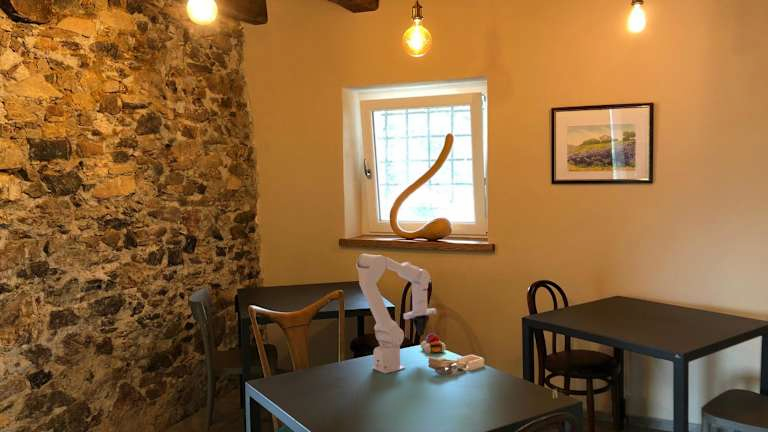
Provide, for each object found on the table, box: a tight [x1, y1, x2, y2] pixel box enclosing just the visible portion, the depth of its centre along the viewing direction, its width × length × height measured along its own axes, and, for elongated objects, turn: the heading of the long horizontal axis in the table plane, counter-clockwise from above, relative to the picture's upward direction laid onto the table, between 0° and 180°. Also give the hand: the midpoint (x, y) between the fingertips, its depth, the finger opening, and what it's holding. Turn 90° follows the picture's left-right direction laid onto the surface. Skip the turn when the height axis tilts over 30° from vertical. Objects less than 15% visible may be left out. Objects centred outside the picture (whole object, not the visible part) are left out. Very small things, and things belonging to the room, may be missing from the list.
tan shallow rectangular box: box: [456, 354, 485, 372], centre depth 227 cm, size 9×6×3 cm
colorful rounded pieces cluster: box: [420, 332, 447, 355], centre depth 248 cm, size 8×10×7 cm
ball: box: [469, 355, 477, 362], centre depth 229 cm, size 3×3×3 cm
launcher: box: [427, 357, 467, 371], centre depth 224 cm, size 14×12×3 cm
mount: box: [434, 363, 462, 378], centre depth 221 cm, size 5×9×4 cm, turn 35°
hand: (420, 334), depth 238 cm, fingers closed
